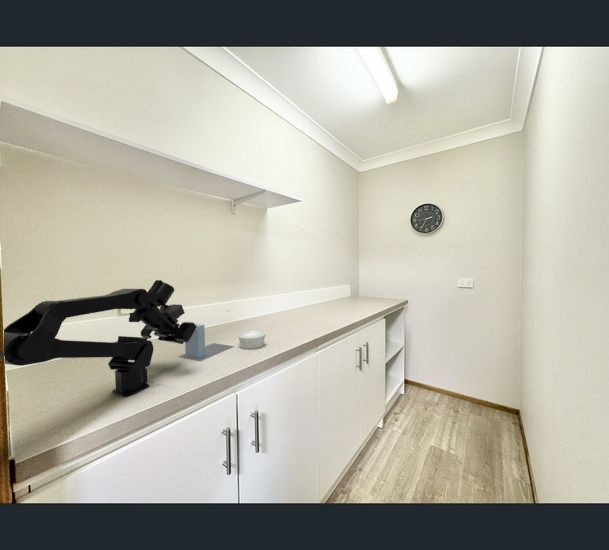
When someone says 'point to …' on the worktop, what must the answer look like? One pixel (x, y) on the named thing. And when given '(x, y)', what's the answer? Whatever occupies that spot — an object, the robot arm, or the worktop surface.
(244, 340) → the ramekin
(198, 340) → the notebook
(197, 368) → the worktop surface
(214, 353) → the mat
